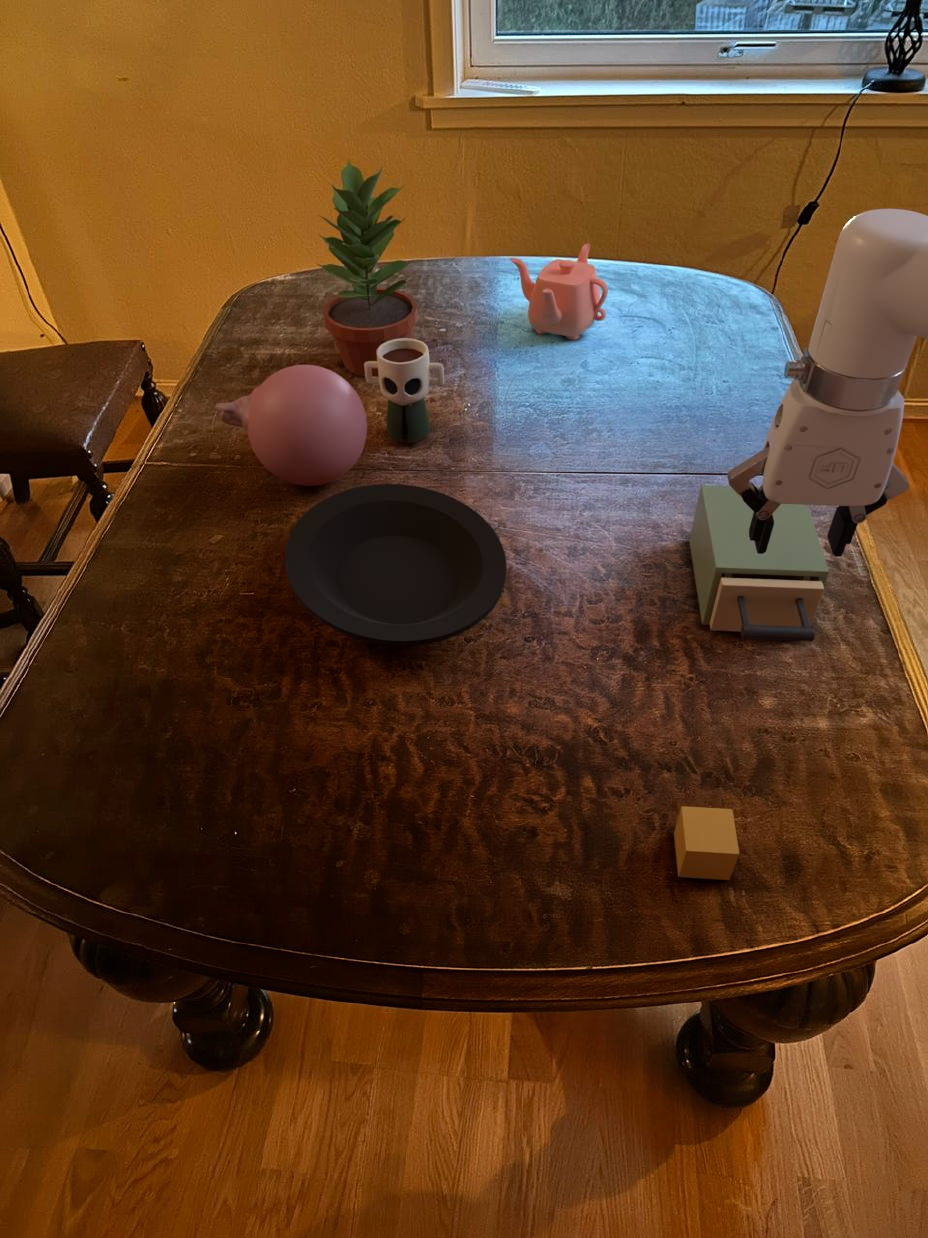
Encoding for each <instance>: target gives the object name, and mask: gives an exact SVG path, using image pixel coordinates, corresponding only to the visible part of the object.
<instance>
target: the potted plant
mask: <svg viewBox="0 0 928 1238" xmlns="http://www.w3.org/2000/svg"><path fill="white" fill-rule="evenodd" d="M382 170H383V166H381V167H380V169H379V171H378V172H377V173H375V174H372V175H370V176H368V177H367V178H366V179H364V176H363V173H362V170H361V169H360V168H359V167H357V166H355V165H352V164H351V161H350V160H349V158H347V165H346V166H345V167H344V168H343V169H342V170H341V173H340V174H341V175H340V176H341V183H342V189H339V188H336V186H334V185H333V184H331V187H332V191H333V197H332V198H331V201H332V203H333V205H334V207H333V209H334V210H335V211H336V212H338V215H337V217H336V223H337V224H335V223H334V222H332V221H331V220H329V219H327V218H326V217H324V216H321V215H320V214H318V217H320V218H321V219H323V220H324V221H325V222H327V223H328V224H329V225H330V226H332V227H333V228H334V229H335V230H337V231H338V232H339V234H340V236H341V238H337V237H334V236H328V237H324V236H323V235H320V234H318V236H319V237H320V238H322V240H323V241H324V243H325V244H326V245H328V248H327V249H328V251H329V252H330V253H331V254H332V255H333V256H334V257H335V258H336V259H337V260H338V261H339V262H340V263H341V264H342V265H343V266H341V265H338V264H333V263H328V264H323V265H322V264H319V263H316V265H317V266H319V267H320V268H321V270H322V271H323V272H325V273H327V274H329V275H332V276H334V277H335V278H338V279H340V280H342V281H345V282H346V283H348V284H350V285H351V287H352V288H353V289H351V290H341V291H339V292H338V293H337V294H338V295H336V296H334V297H332V298H331V299H330V300H329V301H327V302H326V304H325V305H324V307H323V309H322V311H323V317H324V325H325V329H326V330H327V331H328V332H329V333H330V334H331V337H332V338H333V341H334V343H335V346H336V348H337V351H338V353H339V356H340V358H341V361H342V363H343V365H344V368H346V369H347V371H349V372H350V373H353V374H354V375H356V376H362V377H365V369H364V364H365V362H368V361H377V349H378V348H379V346H380V345H382V344H383V343H385V342H387V341H390V340H394V339H401V338H409V339H412V336H413V332H414V327H416V325H417V323H418V320H419V312H418V305H417V301H416V299H414V298H413V296H411V295H410V294H408V293H405V292H403V291H401V290H399V289H400V288H402V287H403V286H405V285H406V284H408V283H409V282H411V281H412V279H409V280H408V281H407V280H406V279H401V280H398V281H397V282H395V283H393V284H391V285H390V286H387V287H378V285H380V284H382V283H383V282H384V281H386V280H388V279H390V278H391V277H392V276H394V275H396V274H398V273H399V272H400V271H402V270H404V269H406V268H407V267H409V265H410V264H411V263H414V261H415V260H414V259H413V260H411V261H409V262H407V261H405V260H401V259H400V260H399V259H397V260H394V261H392V262H390V263H387V264H386V265H384V266H382V267H381V268H379V269H378V270H376V272H374V268H375V267H376V265H377V263H378V262H379V260H380V259H381V258H382V256H383V254H384V253H385V251H386V249H387V248H388V246H389V245H390V243H391V242H392V239H393V238H394V236H395V230H396V228H397V227H398V226H399V225H401V223H403V222H404V221H405V220H406V218H407V217H405V218H403V219H402V220H399V219H393V218H394V217H395V215H389V216H388V217H386V219H385V220H382V221H379V219H380V216H381V214H382V211H383V208H384V207H385V205H387V203H389V202H390V201H391V200H392V199H393V198H395V196H396V195H397V194H398V193H399V192H400V191H401V190H402V189H403V188H404V187H405V186H406V184H403V185H402V186H401V187H389V188H388V189H387V188H386V190H384V191H381V192H380V193H379V194H378V196H373V197H372V194H373V193H374V191H375V188H376V186H377V183H378V181H379V179H380V177H381V175H382V172H383V171H382ZM371 370H372V377H379V374H378V368H371Z"/></svg>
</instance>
